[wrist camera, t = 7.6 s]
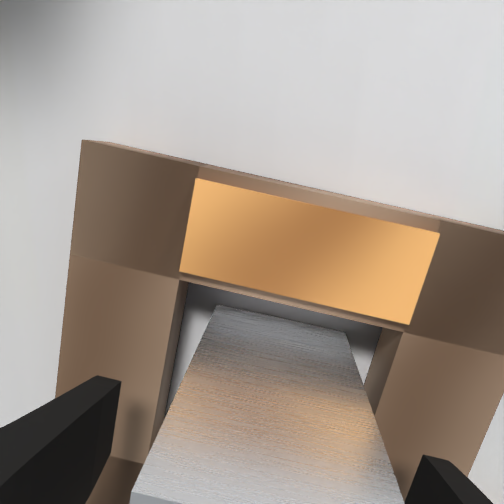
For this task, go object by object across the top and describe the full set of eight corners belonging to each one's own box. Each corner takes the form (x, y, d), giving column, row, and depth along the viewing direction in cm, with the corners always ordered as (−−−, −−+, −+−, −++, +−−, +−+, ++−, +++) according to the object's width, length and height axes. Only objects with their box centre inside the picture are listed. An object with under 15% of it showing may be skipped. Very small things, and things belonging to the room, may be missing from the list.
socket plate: (859, 311, 11) (966, 339, 9) (653, 628, 13) (704, 693, 12) (108, 141, 11) (77, 138, 9) (67, 480, 14) (38, 523, 12)
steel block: (345, 332, 12) (424, 561, 5) (314, 441, 13) (346, 753, 6) (217, 304, 12) (130, 491, 5) (196, 413, 13) (100, 691, 6)
